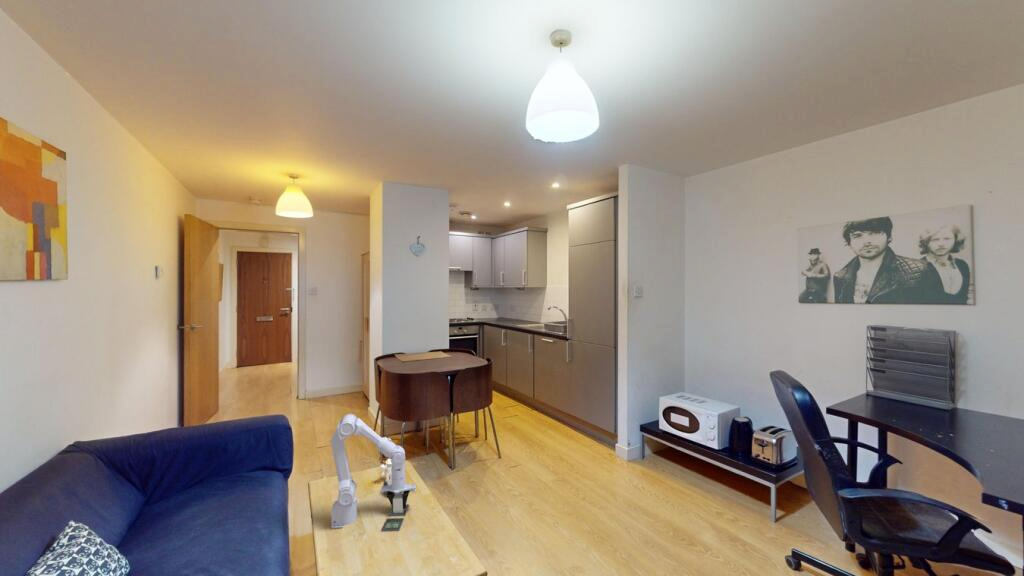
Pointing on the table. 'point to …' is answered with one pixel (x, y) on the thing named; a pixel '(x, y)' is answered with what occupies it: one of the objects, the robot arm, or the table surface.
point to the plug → (398, 503)
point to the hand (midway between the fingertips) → (399, 507)
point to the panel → (394, 521)
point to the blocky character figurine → (387, 469)
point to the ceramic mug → (388, 483)
